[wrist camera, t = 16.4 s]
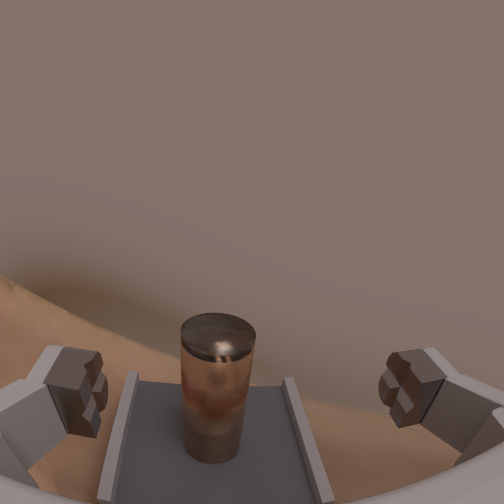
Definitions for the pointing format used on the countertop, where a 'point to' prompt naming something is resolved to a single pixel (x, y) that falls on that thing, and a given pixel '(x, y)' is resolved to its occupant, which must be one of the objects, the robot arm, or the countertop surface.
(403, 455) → the countertop surface
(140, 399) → the grey rimmed tray
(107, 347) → the countertop surface
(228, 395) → the canister
